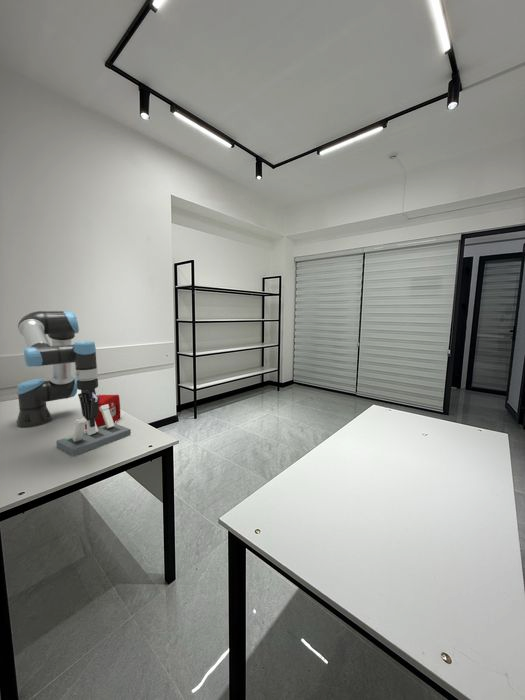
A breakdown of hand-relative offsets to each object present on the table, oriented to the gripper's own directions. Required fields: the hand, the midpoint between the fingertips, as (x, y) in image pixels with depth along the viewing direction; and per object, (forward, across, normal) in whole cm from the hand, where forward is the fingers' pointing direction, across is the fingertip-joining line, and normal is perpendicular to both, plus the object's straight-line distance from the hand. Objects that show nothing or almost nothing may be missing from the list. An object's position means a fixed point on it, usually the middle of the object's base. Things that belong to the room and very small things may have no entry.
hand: (91, 433), depth 122 cm
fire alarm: (+10, -32, +22) cm, 40 cm away
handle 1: (+7, -14, +8) cm, 18 cm away
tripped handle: (+7, -14, 0) cm, 16 cm away
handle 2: (+7, -14, +16) cm, 22 cm away
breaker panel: (+10, -14, +8) cm, 19 cm away
